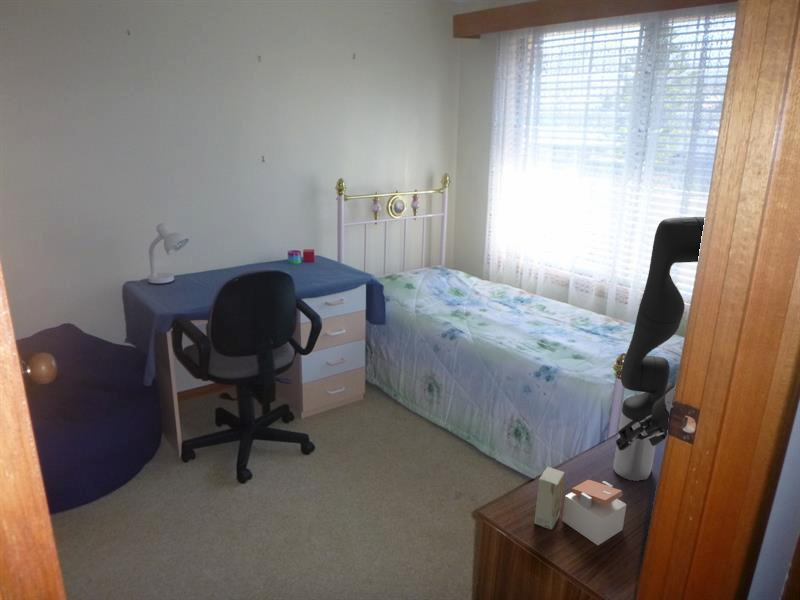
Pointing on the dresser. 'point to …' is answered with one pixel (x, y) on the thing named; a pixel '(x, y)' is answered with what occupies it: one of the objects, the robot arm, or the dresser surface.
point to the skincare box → (549, 497)
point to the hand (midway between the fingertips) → (635, 443)
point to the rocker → (597, 492)
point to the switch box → (594, 516)
